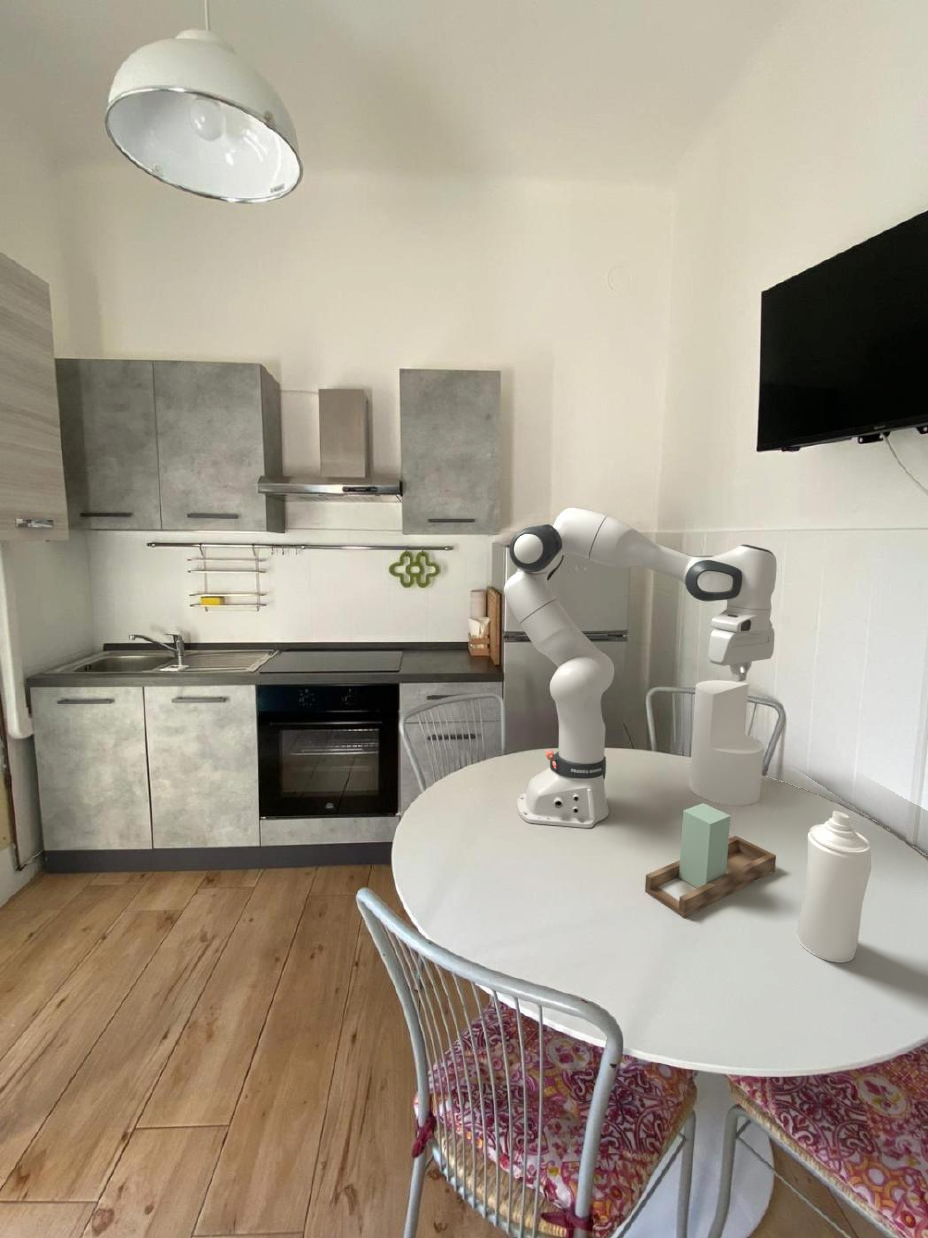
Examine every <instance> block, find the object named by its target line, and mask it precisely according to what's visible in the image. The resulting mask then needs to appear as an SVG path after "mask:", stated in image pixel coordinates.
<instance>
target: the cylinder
mask: <svg viewBox="0 0 928 1238" xmlns="http://www.w3.org/2000/svg"><path fill="white" fill-rule="evenodd" d="M749 685H750V683H747V682H743V681H740V682H734V681H732V680H723V679H722V680H721V679H720V680H719V679H717V680H716V679H714V680H713V679H712V680H703V681H700V682H698V683H696V685H695V690H694V691H695V693H694V709H693V723H692V739H691V753H690V766H689V769H690V770H689V784H688V785H689V789H690V790H691V791H692V792H693V793H694V794H695V795H697V796H698V797H701V798H703V799H705V800H707V801H710V802H713V803H717V804H721V805H726V804H727V806H738V805H743V806H750V805H753V804H756V803H758V801H759V800H760V798H761V788H762V787H761V786H762V776H763V766H764V765H763V764H764V756H765V755H764V754H765V745H764V743H763V742H762V741H761V740H759V739H758V738H757V737H753V736H751V735H749V734H747V733H746V725H747V724H746V723H747V722H746V721H747V709H748V701H749V700H748V698H749V697H748V695H749V687H750V686H749ZM752 803H753V804H752Z"/></svg>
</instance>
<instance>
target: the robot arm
mask: <svg viewBox="0 0 928 1238" xmlns="http://www.w3.org/2000/svg"><path fill="white" fill-rule="evenodd" d="M565 555H575V556H579V557H582V558H583V559H586V560H589V561H591V562H594V563H597V564H601V565H604V566H607V567H614V568H643V569H647V570H651V571H654V572H657V573H659V574H661V575H665V576H667V577H670V578H673V579H675V580H677V581H680V582H682V583H683V584H684V585H685V588H686V590H687V591H688V593H689V594H690V595H691V596H692V597H693V598H695V599H696V600H699V601H700V602H701V601H702V602H704V603H705V602H706V603H708V602H716V601H724V600H725V601H726V608H725V609H724V610H723V611H722V612H721V613H719V614H717V615H715V616H714V617H713V618H712V619H711V624H710V626H711V627H712V628H714V629H713V630H712V631H711V633H710V637H709V645H708V654H707V655H708V661H709V662H710V664H714V665H718V666H721V667H722V666H723V667H725V666H729V668H730V671H731V672H730V673H731V677H730V681H734V682H745V681H746V680H747V676H748V675H747V674H748V673H749V671H750V668H751V667H752V663H753V662H756V661H763V660H769V659H771V658H772V657H773V654H774V650H775V636H776V635H775V629H774V628H773V623H772V621H771V614H772V602H771V601H772V595H773V593H774V590H775V588H776V578H777V566H778V565H777V557H776V555H775V554H774V553H773V551H771V550H769V549H766V548H763V547H759V546H754V545H750V544H740V545H738V546H737V547H734V548H733V549H731V550H728V551H726V552H723V553H720V554H718V555H717V554H716V555H700V556H697V555H696V556H695V555H691V554H687V553H684V552H681V551H679V550H675V549H674V548H673V549H672V548H670V547H666V546H663V545H662V544H658V542H655V541H653V540H651V539H650V538H648V537H646V536H645V535H643V534H642V533H641V532H640V531H638V530H636V529H635V528H633V527H632V526H631V525H629V524H626V523H625V522H623V521H621V520H619V519H617V518H615V517H612V516H608V515H606V514H604V513H601V512H596V511H593V510H589V509H583V508H578V507H568V508H565V509H564V510H563V511H562V512H561V513H560V514H558V516H557V517H556V519H555V521H554V524H553V525H551V524H548V523H547V524H541V525H540V524H539V525H535V526H529V527H525V528H523V529H521V530H518V531H517V533H516V534H515V535H513V537H512V539H511V541H510V543H509V556H510V559H511V561H512V563H513V564H514V566H516V567H517V570H516V572H515V574H513V575H511V577H509V578H508V580H507V581H505V584H504V587H503V594H504V597H505V600H506V602H507V604H508V606H509V609H510V610H511V612H512V613H513V615H514V617H515V619H516V620H517V622H518V623H519V625H520V627H521V629H522V630H523V631H524V633H525V634H526V635H527V638H529V640H530V642H531V643H532V645H533V647H534V648H535V649H536V650H537V652H539V653H541V654H542V655H544V656H546V657H547V658H548V659H549V660H551V662H552V663H553V664H554V665H556V666H557V669H556V670H555V672H554V673H553V675H552V678H551V680H550V682H549V693H550V695H551V698H552V700H553V701H554V703H555V707H556V713H557V718H558V719H557V720H558V751H557V752H555V753H554V751H553V750H550V749H549V750H547V751H546V753H545V756H546V759H547V760H548V761H549V767H547V768H545V769H544V770H543V771H541V772H540V773H538V774H537V775H534V776H533V777H532V778H531V779H530V780H529V782H528V785H527V789H526V792H523V793H521V794H520V795H519V796H518V798H517V801H516V802H517V803H516V808H517V812H518V814H519V816H520V817H521V818H522V819H523V820H524V821H526V822H527V823H530V824H536V825H537V824H540V825H550V826H562V827H572V828H574V827H575V828H582V829H590V828H592V827H593V826H595V825H596V823H598V822H600V821H602V820H604V819H606V817H608V815H609V813H610V811H609V806H608V801H607V797H606V790H605V789H606V788H605V779H606V774H607V757H606V756H605V744H606V724H605V722H604V719H603V714H602V713H603V712H602V705H601V703H602V702H601V701H602V696H603V693H604V692H606V691H607V690H608V689H609V688H610V686H611V685H612V683H613V679H614V677H615V665H614V663H613V660H612V659H611V658H610V657H609V656H608V655H607V654H606V653H604V652H602V650H600V649H599V648H598V647H597V646H596V645H595V644H594V643H593V642H592V641H591V640H590V639H589V638H588V637H587V636H586V635H585V634H584V633H583V631H581V629H580V628H578V626H577V625H576V624H575V622H574V621H573V620H572V619H571V617H570V615H569V614H568V612H567V611H566V609H565V608H564V607H563V605H562V604H561V603H560V601H559V600H558V598H557V597H556V595H555V594H554V592H553V591H552V589H551V587H550V586H549V583H548V581H550V579H551V578H552V577H553V575H554V574H555V572H556V571H557V570H558V569H559V568H560V566H561V565H562V563H563V561H564V558H565Z"/></svg>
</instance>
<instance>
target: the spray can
mask: <svg viewBox="0 0 928 1238" xmlns="http://www.w3.org/2000/svg"><path fill="white" fill-rule="evenodd" d="M871 850H872V849H871V844H870V842H869V840H868V839H867V838H866V837H864V836H863V835H861V834H860V833H858V832H856V829H855V828H854V827H853V826H852V823H851V822H850V817H849V815H847V814H846V813H843V812H841V811H837V810H833V811H832V817H830V818H828V820H826V821H825V822H824V823H819V824H814V825H813V826H811V827H810V829H809V832H808V833H807V867H806V885H805V887H806V888H805V894H804V896H803V897H804V898H803V901H802V906H801V910H800V913H799V917H798V921H797V927H796V930H795V938H796V940H797V942H798V943H799V944H800V946H802V948H804V949H805V950H806V951H807V952H809V953H810V954H811V955H813V956H814V957H818V958H819V959H822V960H824V961H828V962H830V963H838V964H839V963H842V964H843V963H847V962H850V961H852V960H853V959H854V958H855V955H856V951H857V947H858V944H859V935H860V927H861V920H862V919H861V917H862V912H863V911H862V909H863V902H864V899H865V894H866V892H867V891H866V890H867V886H868V884H869V883H868V882H869V879H870V875H871V871H872V851H871Z"/></svg>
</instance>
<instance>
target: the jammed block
mask: <svg viewBox="0 0 928 1238" xmlns="http://www.w3.org/2000/svg"><path fill="white" fill-rule="evenodd" d="M730 826H731V815H730V814H728V813H726V812H723V811H721V810H719V809H717V808H714V807H712V806H710V805H709V804H706V803H703V802H702V803H700V804H698V805H694V806H692V807H689V808H686V809H684V810H683V811H682V823H681V838H680V840H681V841H680V852H679V853H680V855H679V860H680V867H679V877H680V878H681V879H683V880H685V881H686V882H688V883H690V884H691V885H693V886H694V887H696V888H699V887H701V886H703V885H705V884H707V883H709V882H711V881H713V880H715V879H717V878H719V877H722V876H724V875H726V867H727V854H728V841H729V838H730V828H731V827H730Z"/></svg>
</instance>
